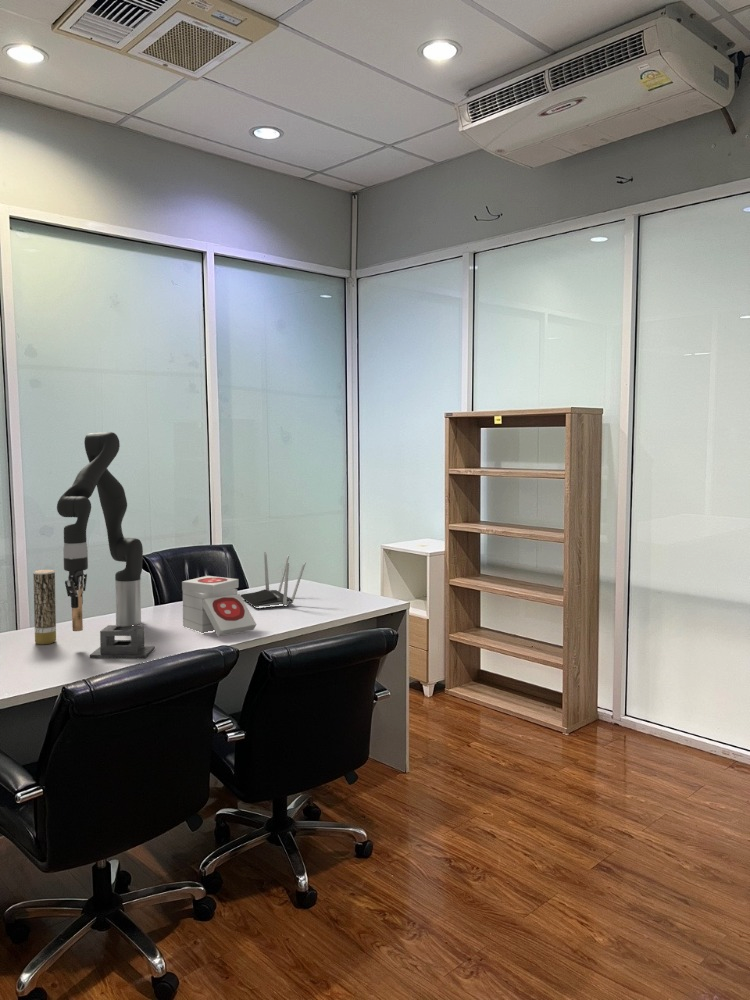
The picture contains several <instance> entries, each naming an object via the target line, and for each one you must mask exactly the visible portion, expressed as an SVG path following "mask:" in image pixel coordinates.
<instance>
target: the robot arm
mask: <svg viewBox="0 0 750 1000" xmlns="http://www.w3.org/2000/svg"><path fill="white" fill-rule="evenodd" d="M120 447H121V445H120V439H119V437H118V435H117V434H116V433H115V432H112V431H101V432H90V433H87V434H86V435H85V437H84V450H85V454H86V457H87V459H88V462H89V463H88V464H86V465H85V466H84V467H83V468H82V469H80V471H79V472H78V473H77V475H76V477H75V479H74V481H73V483H72V485H71V486H70V487H69V488H68V489H67V490H66V491H65V492H64V493H63V494H62V495H61V496H60V497H59V499H58V501H57V505H56V512H57V514H58V515H60V516H61V517H63V518H77V519H76V521H75V523H71V524H67V525H65V526H64V527H63V570H64V571H65V572H68V577H67V578H68V579H67V580H65V581H64V585H65V589H66V594H67V597H70V607H71V609H72V608H78V607H79V603H78V591H79V590H80V588H81V589H82V605H83V603H84V602H83V601H84V600H83V594H84V592H85V591H86V589H87V579H88V573H84V571H86V570H88V568H89V560H88V559H89V558H88V555H89V553H88V544H87V528H88V527H87V526H88V523H89V520H90V519H89V518H90V515H91V512H92V503H91V500H90V497H92V495H93V493H94V491H95V489H97V493H98V498H99V503H100V507H101V509H102V514H103V517H104V522H105V526H106V527H105V528H106V533H107V534H106V535H107V541H108V542H107V543H108V548H109V553H110V556H111V558H112V559H113V560H114V561H116V562H123V563H125V567H124V569H122V570H119V571H117V572H116V573H115V577H114V581H115V585H114V586H115V625H130V626H132V625H134V626H138V625H141V624H142V592H141V591H142V590H141V589H142V588H141V587H142V586H141V585H142V584H141V583H142V582H141V578H142V577H141V576H142V571H143V559H144V551H143V550H144V548H143V543H142V541H141V540H140V539H139V538H136V537H135V538H134V537H125V536H124V533H123V529H122V524H123V523H122V522H123V520H124V517H125V515H126V512H127V508H128V501H127V496H126V492H125V488H124V487H123V485H122V484H121V482H119V480H118V479H117V478H116V477H115V476H114V475H113V474H112V473H111V472H110V470H108V469H109V468H108V467H109V466H110V465H111V464H112V462H113V461H114V459H115V458H116V457H117V455H118V453H119V451H120ZM137 624H138V625H137Z"/></svg>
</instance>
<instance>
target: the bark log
mask: <svg viewBox="0 0 750 1000" xmlns="http://www.w3.org/2000/svg"><path fill="white" fill-rule="evenodd" d="M32 573H33V575H32V576H33V610H34V611H33V612H34V613H33V614H34V618H33V619H34V622H33V623H34V642H35V644H37V645H50V644H54V643H56V641H57V614H56V606H57V605H56V572H55V569H39V570H38V569H37V570H34V571H33V572H32ZM53 642H54V643H53Z"/></svg>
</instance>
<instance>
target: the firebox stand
mask: <svg viewBox="0 0 750 1000" xmlns="http://www.w3.org/2000/svg"><path fill="white" fill-rule="evenodd" d="M99 636H100V637H99V638H100V639H99V640H100V641H99V644H100V645H99V647H98V648H97V649H96V650H94V651H93V652H92V653H90V654H89V659H137V658H139V659H141V660H143V659H147V658H148V657H149V656H150V655H151V654H152V653H153V652H154V651H155V650H154V649H156V646H152V645H151V646H147V645H145V625H134V626H130V625H116V624H114V625H112V624H111V625H109V624H108V625H107V626H105V627H104V628H103V629H101V630H100V631H99ZM116 637H130V639H129V640H128V639H115V638H116ZM153 650H154V651H153ZM152 651H153V652H152ZM151 652H152V653H151ZM150 653H151V654H150ZM149 654H150V655H149Z"/></svg>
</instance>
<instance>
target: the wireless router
mask: <svg viewBox="0 0 750 1000" xmlns="http://www.w3.org/2000/svg"><path fill="white" fill-rule="evenodd" d="M263 555H264V556H263V559H264V578H265V580H264V582H265V589H261V590H259V591H254V592H248V593H241V594H240V595H241V597H242V599H244V600H243V601H245V600H246V601H247V602H249V603H250V604H252V605H253V606H255V607H259V606H270V605H279V604H283V605H287V604H288V605H289V604H291V603H294V601H295V599H296V598H295V597H296V595H297V591H298V589H299V585H300V583H301V579H302V576H303V573H304V571H305V567H306V564H307V561H304V562H303V564H302V566H301V569H300V572H299V576H298V578H297V581H296V584H295V588H294V589H293V594H292V596H291V598H290V597H289V596H288V588H289V587H288V585H289V584H288V583H289V569H290V562H289V558H290V554H288V555H287V556H286V559H285V562H284V565H283V571H282V575H281V579H280V583H279V586H278V590H277V589H270V582H269V569H268V568H269V567H268V566H269V565H268V555H267V552H265V551H263ZM283 585H284V588H283V593H282V587H283ZM246 601H245V602H246ZM247 602H246V603H247ZM249 603H248V604H249ZM250 604H249V605H250ZM252 605H251V606H252ZM253 606H252V607H253Z"/></svg>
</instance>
